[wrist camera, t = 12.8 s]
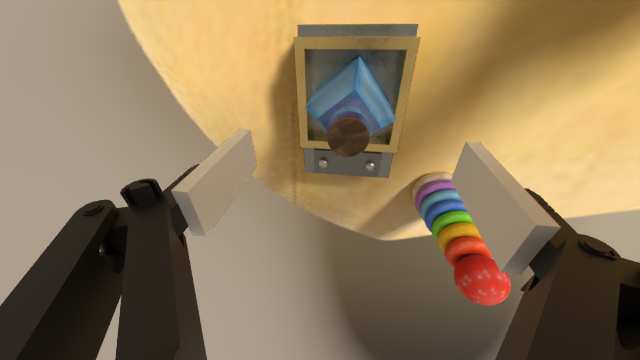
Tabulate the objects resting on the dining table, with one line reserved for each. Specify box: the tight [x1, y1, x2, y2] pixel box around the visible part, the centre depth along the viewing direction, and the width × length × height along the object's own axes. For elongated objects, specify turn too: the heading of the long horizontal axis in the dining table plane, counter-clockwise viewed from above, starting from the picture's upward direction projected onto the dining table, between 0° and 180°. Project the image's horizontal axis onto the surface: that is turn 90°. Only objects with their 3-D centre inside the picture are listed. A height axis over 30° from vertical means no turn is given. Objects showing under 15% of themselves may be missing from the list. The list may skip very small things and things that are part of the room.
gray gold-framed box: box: [294, 24, 420, 178], centre depth 29 cm, size 18×12×7 cm, turn 0°
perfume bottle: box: [305, 55, 396, 157], centre depth 22 cm, size 6×6×12 cm
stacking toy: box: [411, 172, 511, 305], centre depth 31 cm, size 8×8×19 cm
